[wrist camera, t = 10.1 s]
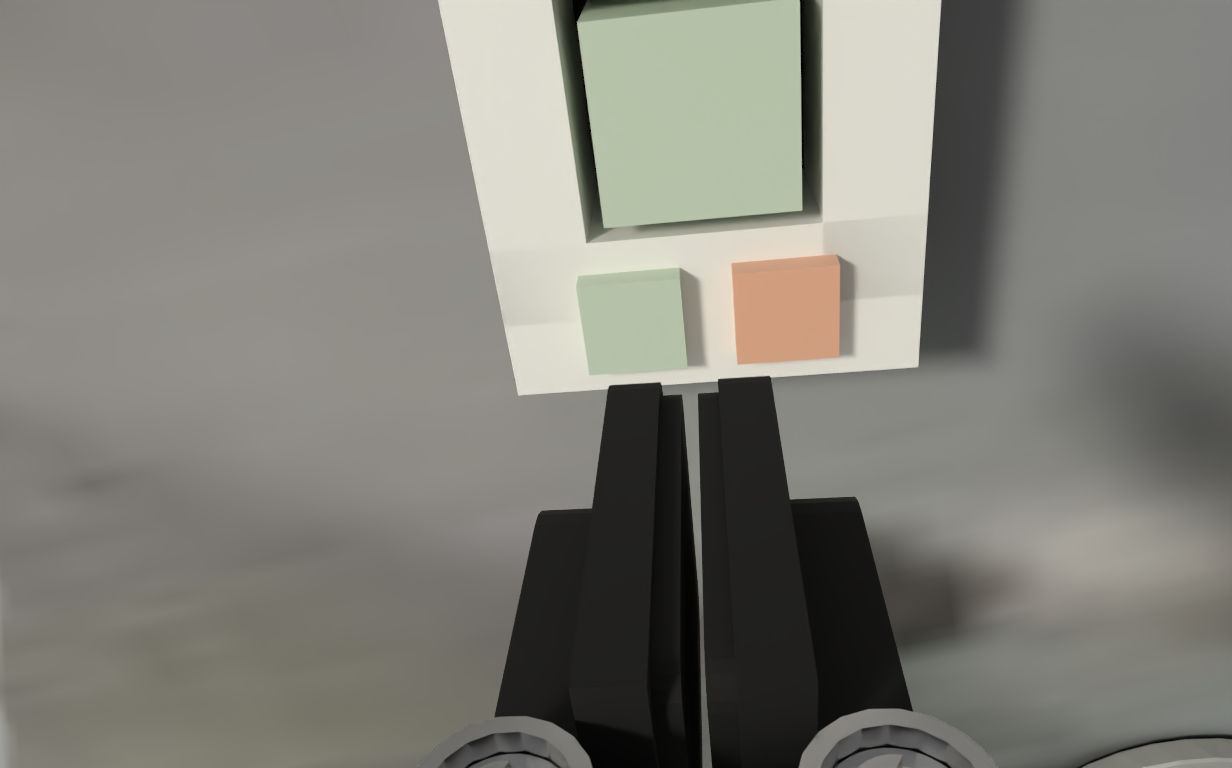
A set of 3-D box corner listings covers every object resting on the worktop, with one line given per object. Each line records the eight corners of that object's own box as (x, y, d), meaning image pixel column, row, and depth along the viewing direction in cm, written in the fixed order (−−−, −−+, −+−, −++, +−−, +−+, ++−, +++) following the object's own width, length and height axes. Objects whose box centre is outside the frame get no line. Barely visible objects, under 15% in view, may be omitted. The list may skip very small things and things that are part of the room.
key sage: (782, -30, 21) (800, -3, 18) (786, 159, 23) (802, 210, 20) (590, -7, 21) (576, 22, 19) (612, 175, 24) (603, 228, 21)
